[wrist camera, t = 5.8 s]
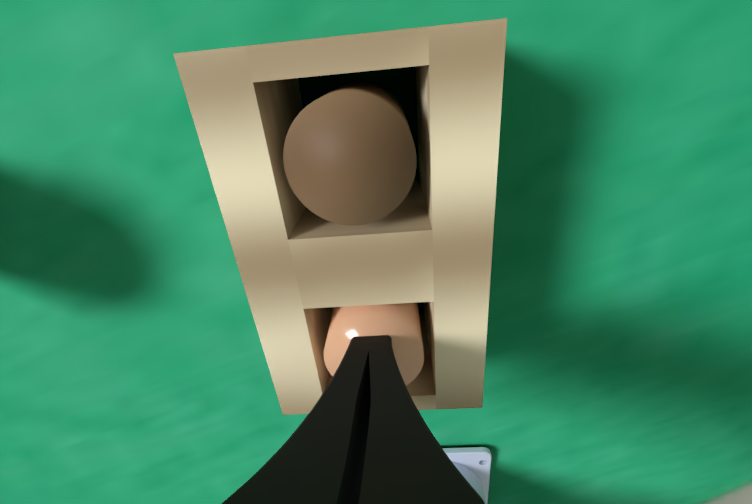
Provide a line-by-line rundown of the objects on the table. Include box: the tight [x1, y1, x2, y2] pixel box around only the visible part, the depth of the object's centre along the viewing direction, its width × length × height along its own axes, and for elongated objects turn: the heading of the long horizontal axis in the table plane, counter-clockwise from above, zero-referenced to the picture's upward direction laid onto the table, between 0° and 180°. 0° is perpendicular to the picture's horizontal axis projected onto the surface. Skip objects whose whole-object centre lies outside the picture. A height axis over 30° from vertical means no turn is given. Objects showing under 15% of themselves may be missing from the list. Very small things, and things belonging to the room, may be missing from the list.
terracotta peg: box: [324, 302, 424, 385], centre depth 15 cm, size 4×4×5 cm
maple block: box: [173, 18, 507, 415], centre depth 14 cm, size 13×8×5 cm, turn 5°
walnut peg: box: [283, 82, 417, 225], centre depth 12 cm, size 4×4×5 cm
